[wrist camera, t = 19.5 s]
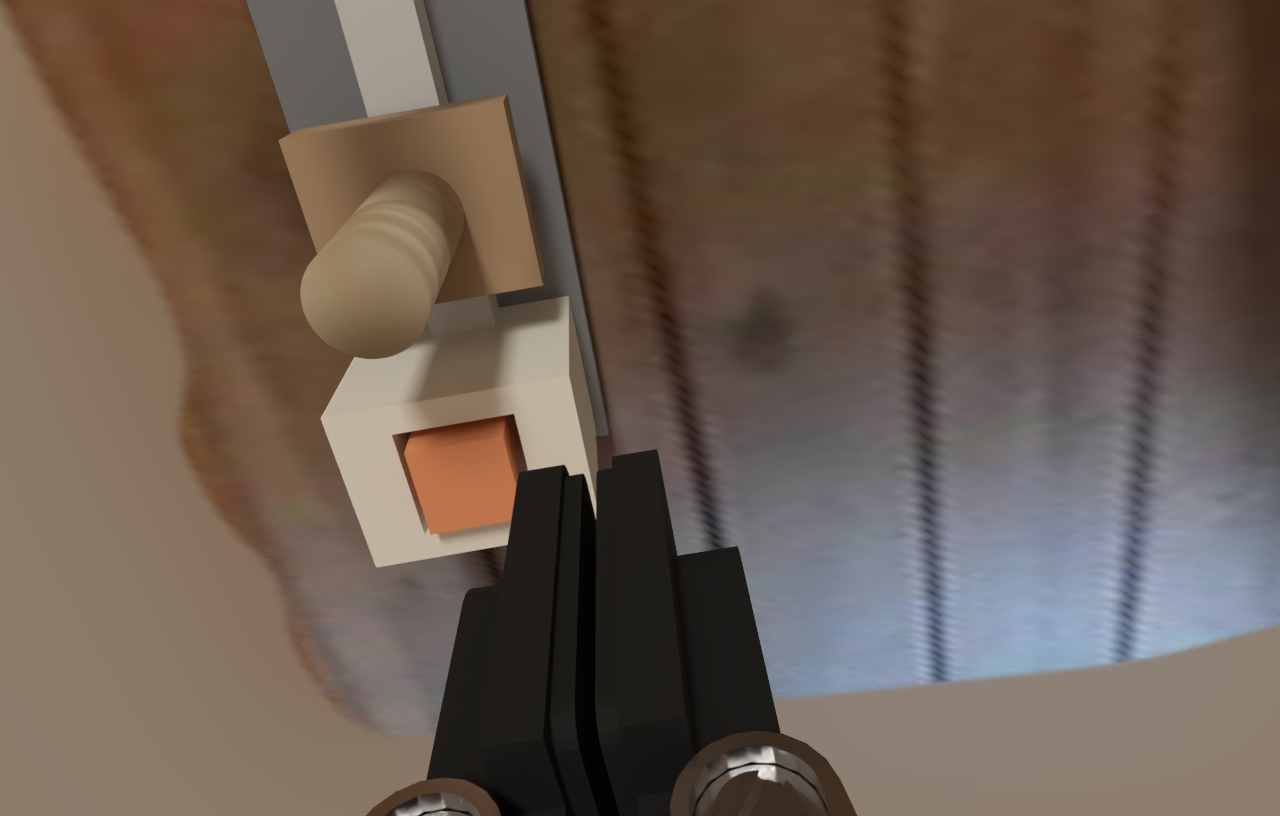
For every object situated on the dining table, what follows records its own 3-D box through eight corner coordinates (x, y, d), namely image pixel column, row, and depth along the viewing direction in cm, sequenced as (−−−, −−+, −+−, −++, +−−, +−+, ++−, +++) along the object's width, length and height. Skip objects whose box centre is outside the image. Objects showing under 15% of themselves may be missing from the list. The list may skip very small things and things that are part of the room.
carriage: (507, 93, 28) (479, 149, 19) (544, 267, 31) (535, 388, 22) (297, 129, 28) (171, 203, 19) (353, 300, 31) (265, 434, 22)
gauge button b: (509, 388, 30) (503, 436, 27) (528, 465, 32) (524, 518, 29) (420, 403, 30) (404, 453, 27) (443, 479, 32) (430, 534, 29)
